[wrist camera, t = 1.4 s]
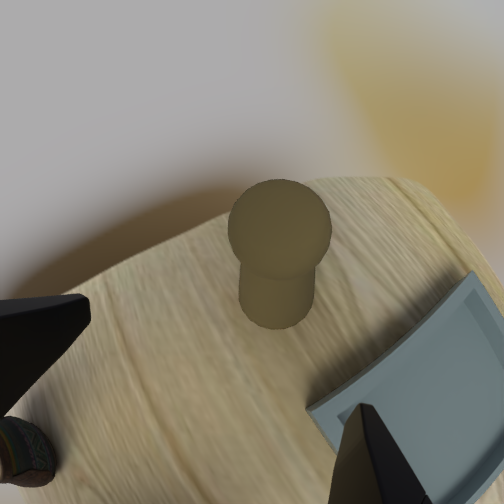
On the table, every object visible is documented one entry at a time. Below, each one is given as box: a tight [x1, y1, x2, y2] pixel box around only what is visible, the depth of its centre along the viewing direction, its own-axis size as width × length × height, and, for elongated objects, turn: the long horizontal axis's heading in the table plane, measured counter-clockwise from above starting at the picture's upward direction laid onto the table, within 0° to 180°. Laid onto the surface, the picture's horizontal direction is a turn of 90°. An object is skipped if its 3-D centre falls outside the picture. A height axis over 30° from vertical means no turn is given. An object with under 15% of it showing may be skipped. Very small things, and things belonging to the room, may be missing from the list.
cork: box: [228, 179, 332, 329], centre depth 17 cm, size 6×6×11 cm
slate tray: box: [305, 270, 504, 504], centre depth 14 cm, size 18×18×3 cm
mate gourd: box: [0, 416, 56, 487], centre depth 11 cm, size 7×8×10 cm
